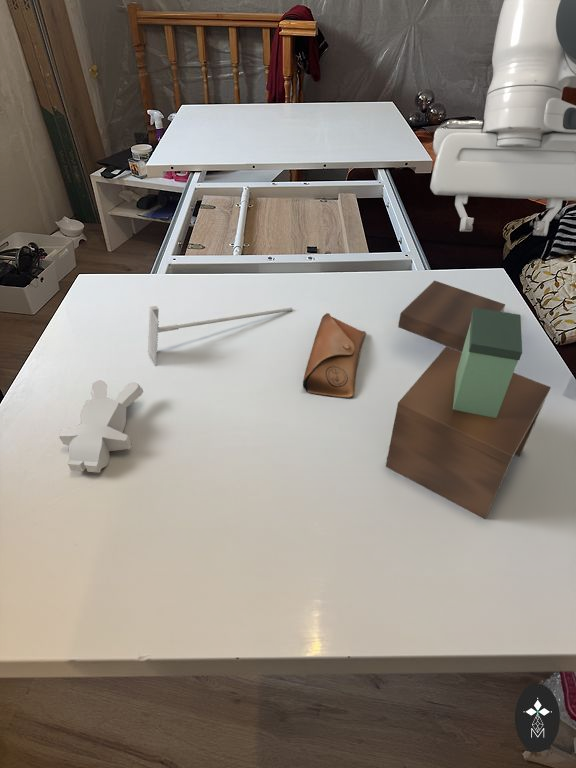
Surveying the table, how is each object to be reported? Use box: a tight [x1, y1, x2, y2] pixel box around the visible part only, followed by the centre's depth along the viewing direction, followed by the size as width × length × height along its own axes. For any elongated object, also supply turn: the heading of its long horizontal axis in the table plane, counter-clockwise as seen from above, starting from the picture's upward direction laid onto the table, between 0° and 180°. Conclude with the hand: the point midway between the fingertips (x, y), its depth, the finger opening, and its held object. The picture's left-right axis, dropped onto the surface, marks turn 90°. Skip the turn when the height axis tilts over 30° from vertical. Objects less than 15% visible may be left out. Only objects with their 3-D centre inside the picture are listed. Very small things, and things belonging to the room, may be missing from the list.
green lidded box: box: [453, 308, 523, 418], centre depth 62 cm, size 7×5×10 cm
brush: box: [147, 305, 293, 366], centre depth 93 cm, size 4×27×9 cm, turn 119°
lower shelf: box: [397, 280, 506, 352], centre depth 96 cm, size 14×14×3 cm
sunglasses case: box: [302, 312, 367, 399], centre depth 88 cm, size 18×7×7 cm, turn 168°
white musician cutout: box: [58, 380, 144, 473], centre depth 75 cm, size 10×5×15 cm
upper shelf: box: [385, 345, 552, 520], centre depth 69 cm, size 14×14×12 cm
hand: (502, 233), depth 71 cm, fingers open, 8 cm apart
